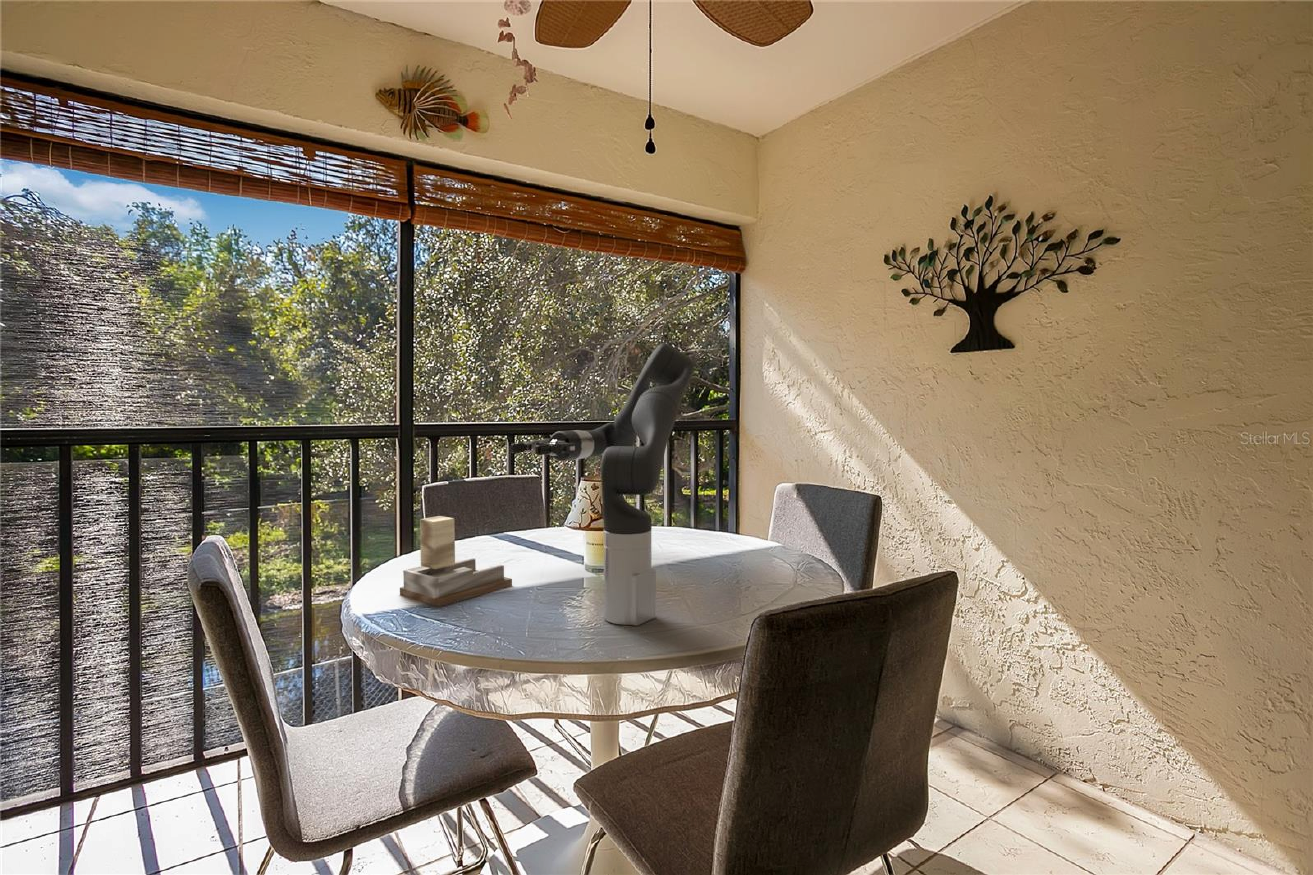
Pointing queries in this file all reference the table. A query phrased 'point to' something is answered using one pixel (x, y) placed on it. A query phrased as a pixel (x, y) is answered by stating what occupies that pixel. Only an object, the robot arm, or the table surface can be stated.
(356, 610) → the table surface
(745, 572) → the table surface
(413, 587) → the track
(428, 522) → the keyhole post
